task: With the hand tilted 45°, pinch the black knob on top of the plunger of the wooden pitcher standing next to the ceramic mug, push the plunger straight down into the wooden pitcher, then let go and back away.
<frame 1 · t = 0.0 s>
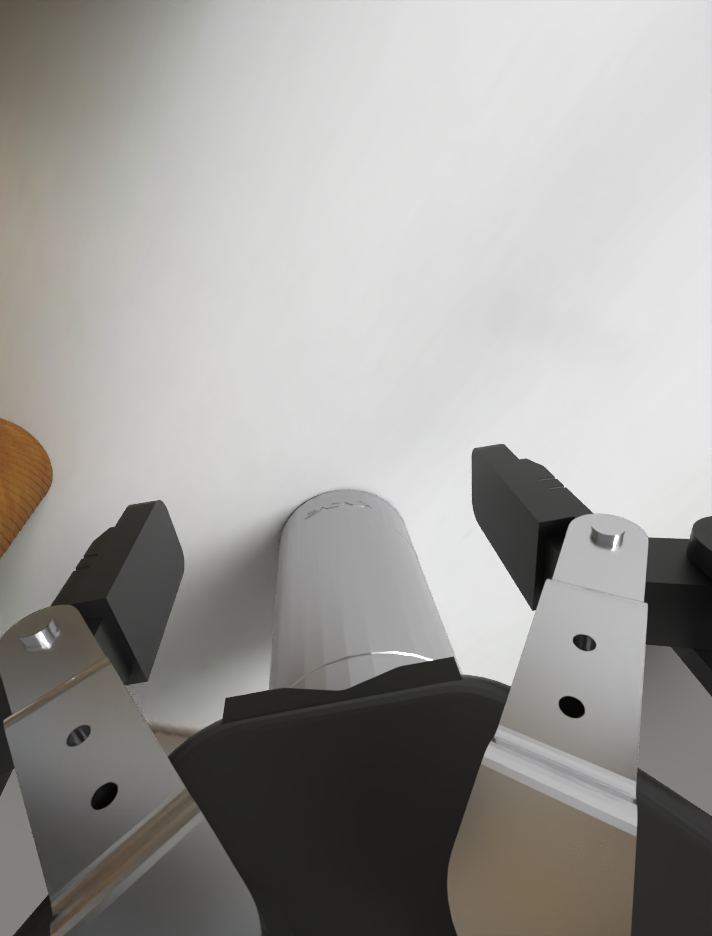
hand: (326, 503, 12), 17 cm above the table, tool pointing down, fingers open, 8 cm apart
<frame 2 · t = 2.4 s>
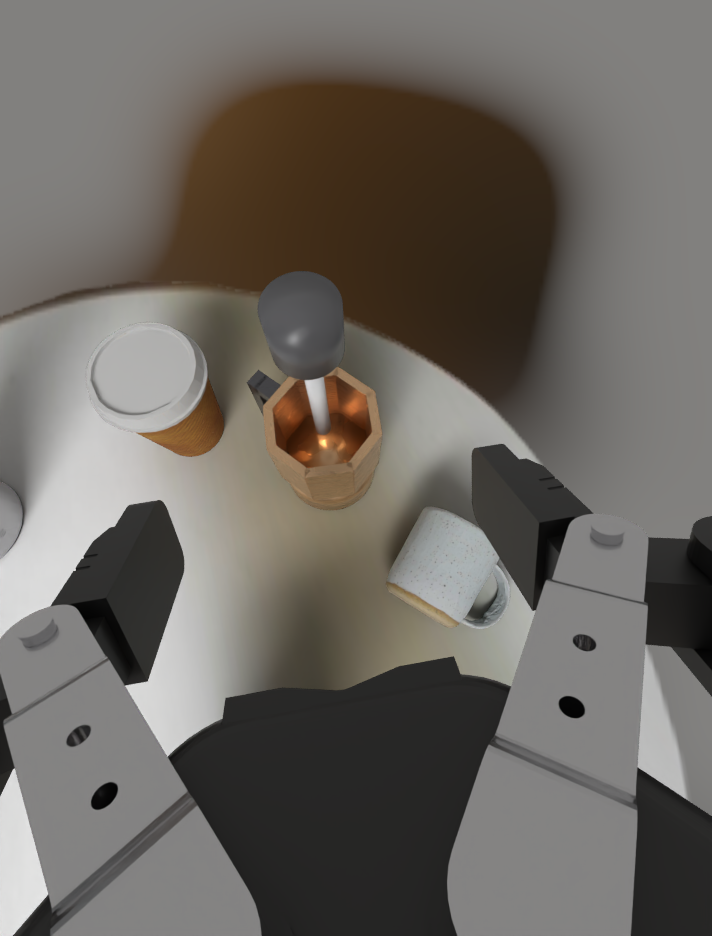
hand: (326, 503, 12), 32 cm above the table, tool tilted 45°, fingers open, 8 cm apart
disposable coffee cup: (194, 428, 48), on the table
wooden pitcher: (331, 467, 46), on the table
ceramic mug: (448, 575, 43), on the table
plunger: (314, 382, 29), point 18 cm above the table, slide at 0.0 cm
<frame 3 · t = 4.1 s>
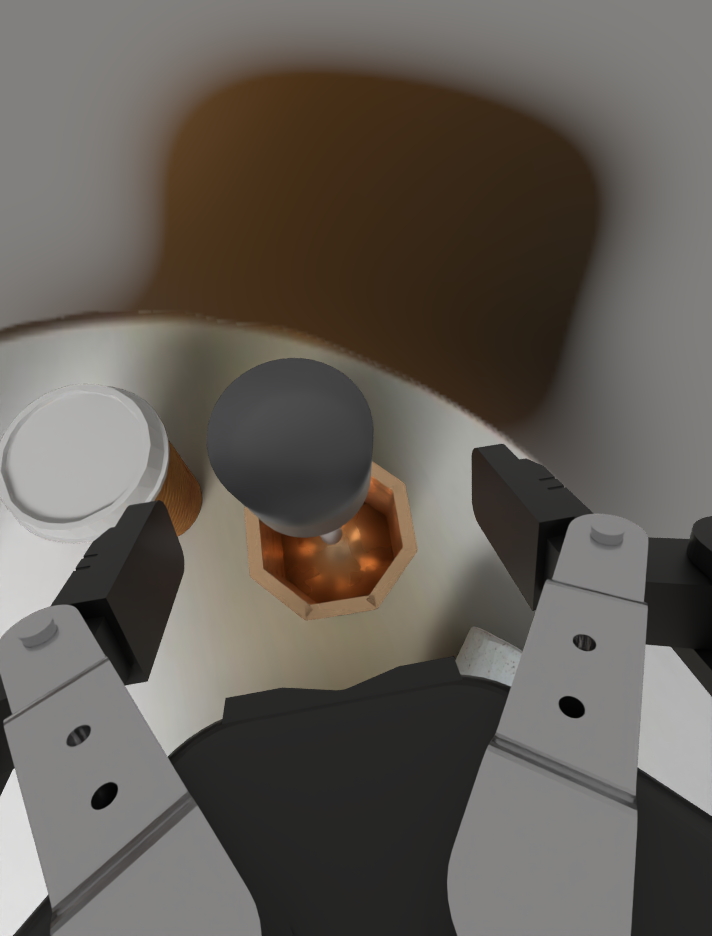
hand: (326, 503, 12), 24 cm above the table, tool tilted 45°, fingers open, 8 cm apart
disposable coffee cup: (163, 503, 37), on the table
wooden pitcher: (340, 555, 35), on the table
ceramic mug: (503, 709, 32), on the table
plunger: (318, 502, 18), point 18 cm above the table, slide at 0.0 cm
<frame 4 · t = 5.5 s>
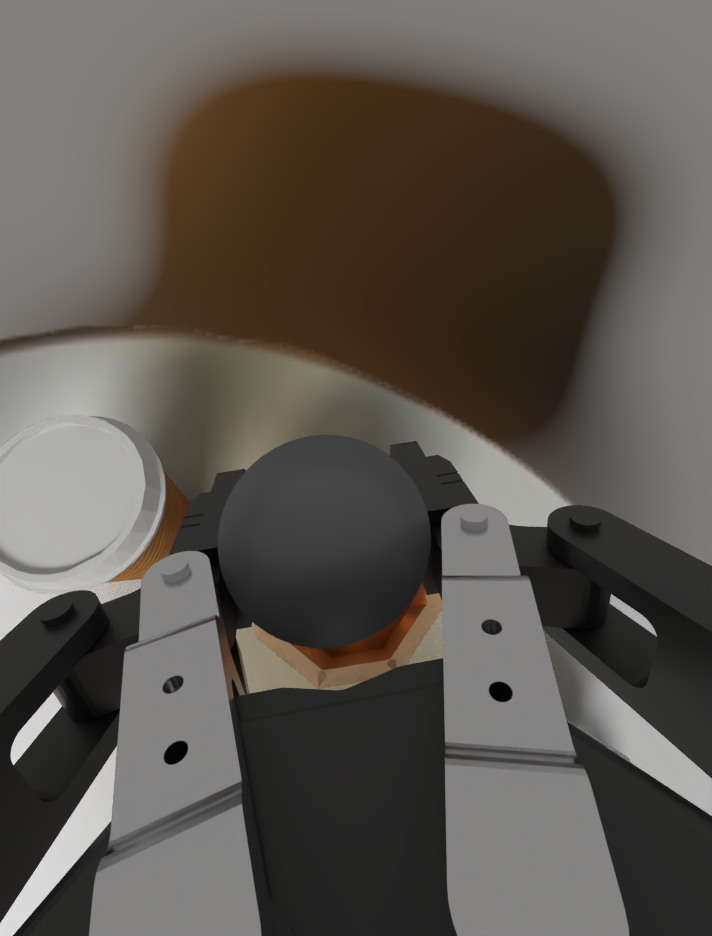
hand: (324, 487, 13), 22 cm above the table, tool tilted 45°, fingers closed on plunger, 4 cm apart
disposable coffee cup: (159, 534, 35), on the table
wooden pitcher: (349, 593, 33), on the table
plunger: (339, 570, 16), point 18 cm above the table, slide at 0.0 cm, touching gripper
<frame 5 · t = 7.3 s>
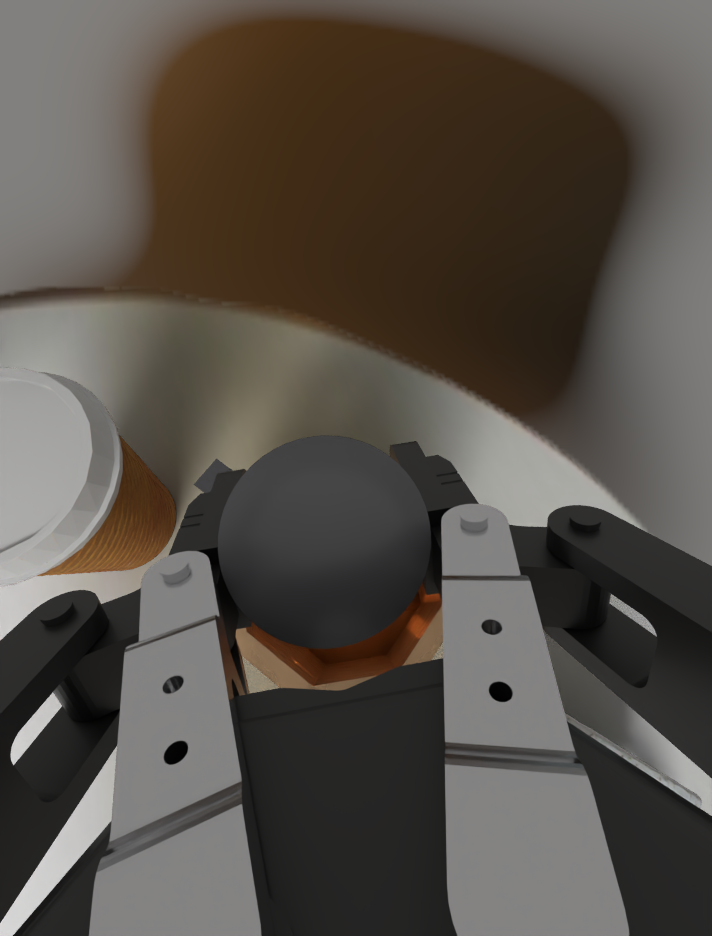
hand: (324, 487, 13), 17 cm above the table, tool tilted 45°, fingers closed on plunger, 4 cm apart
disposable coffee cup: (128, 521, 30), on the table
wooden pitcher: (348, 589, 28), on the table
ceramic mug: (570, 798, 25), on the table
plunger: (339, 570, 16), point 13 cm above the table, slide at 4.8 cm, touching gripper
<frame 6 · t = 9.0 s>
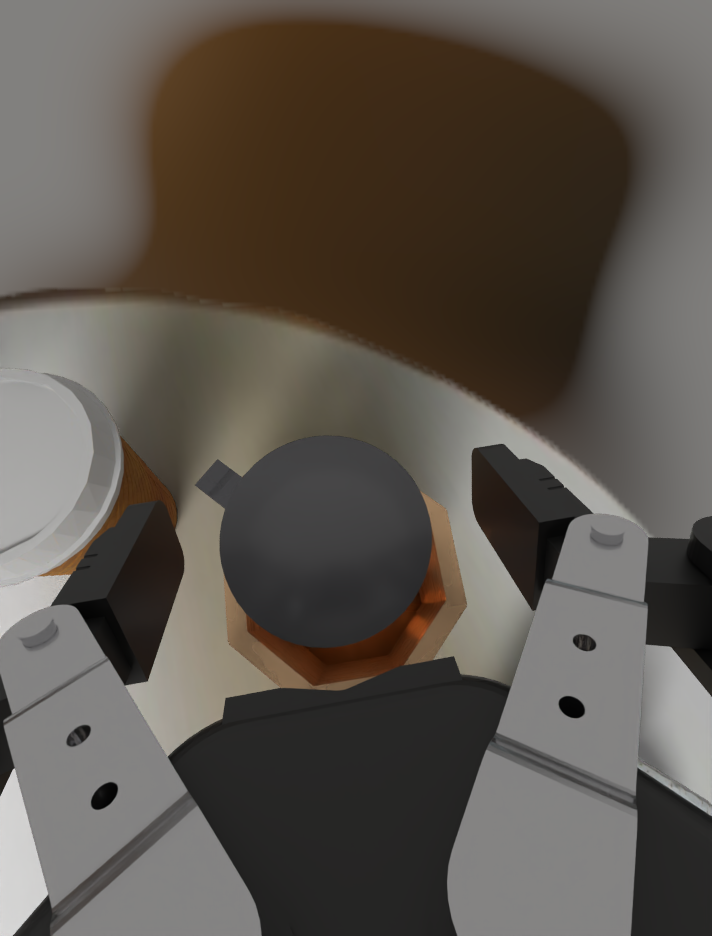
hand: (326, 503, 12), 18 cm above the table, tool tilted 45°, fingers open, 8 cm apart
disposable coffee cup: (129, 522, 30), on the table
wooden pitcher: (348, 590, 28), on the table
ceramic mug: (578, 804, 25), on the table
plunger: (340, 570, 16), point 13 cm above the table, slide at 4.8 cm
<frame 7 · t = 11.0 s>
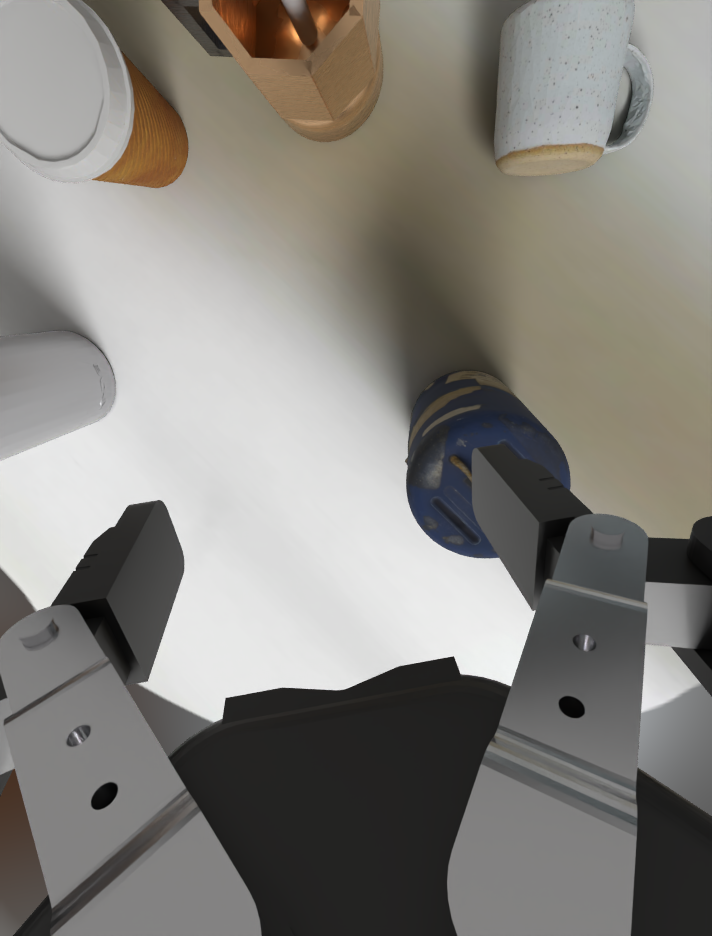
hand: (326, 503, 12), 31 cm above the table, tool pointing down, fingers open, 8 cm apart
disposable coffee cup: (152, 143, 37), on the table
canister: (462, 419, 42), on the table
wooden pitcher: (325, 72, 34), on the table
ceramic mug: (560, 110, 33), on the table
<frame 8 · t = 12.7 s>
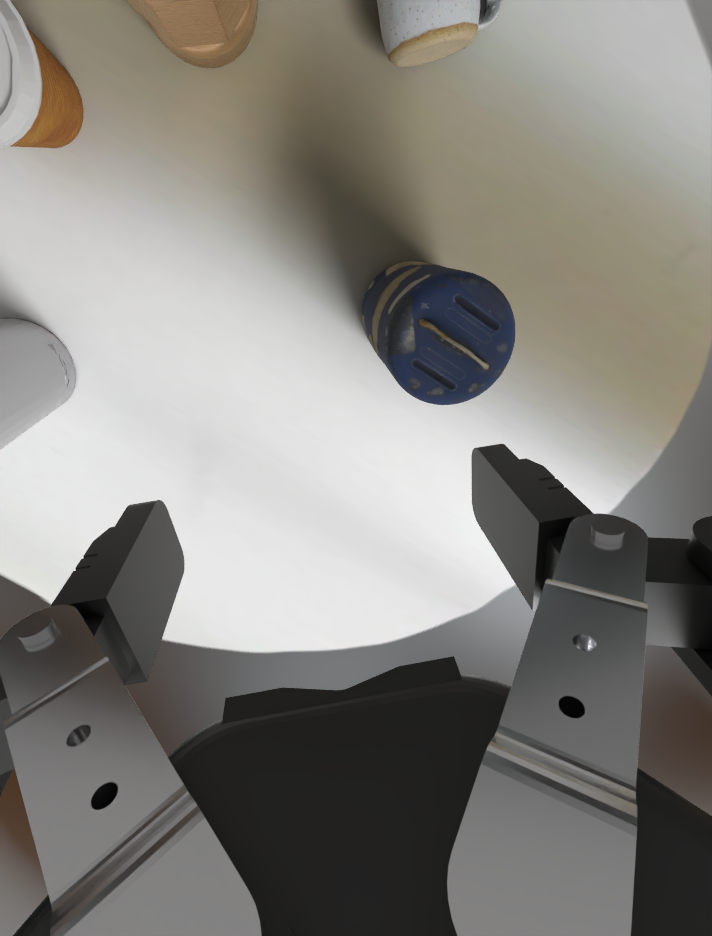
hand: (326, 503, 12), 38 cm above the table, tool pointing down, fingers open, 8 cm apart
disposable coffee cup: (41, 101, 37), on the table
canister: (404, 310, 47), on the table
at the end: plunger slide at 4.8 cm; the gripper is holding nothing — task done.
